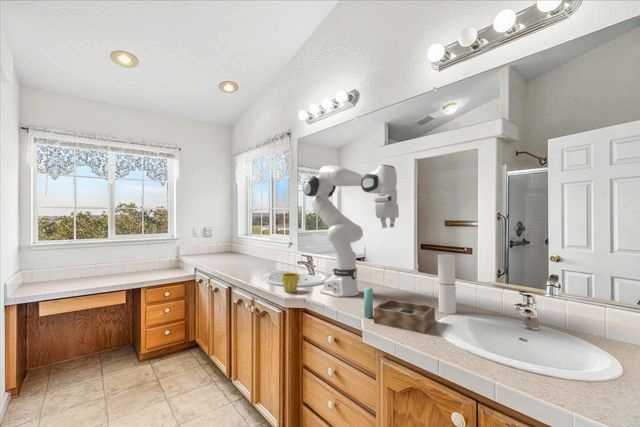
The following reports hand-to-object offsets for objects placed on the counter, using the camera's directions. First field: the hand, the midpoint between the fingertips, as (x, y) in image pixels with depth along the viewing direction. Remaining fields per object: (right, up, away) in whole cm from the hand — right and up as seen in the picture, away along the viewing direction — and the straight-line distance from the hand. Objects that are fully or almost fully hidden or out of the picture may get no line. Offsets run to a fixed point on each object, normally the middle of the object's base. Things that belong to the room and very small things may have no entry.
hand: (388, 227), depth 143 cm
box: (+2, -37, -21) cm, 43 cm away
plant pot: (-50, -39, +32) cm, 71 cm away
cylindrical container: (+25, -37, -8) cm, 46 cm away
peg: (-12, -38, -14) cm, 42 cm away
